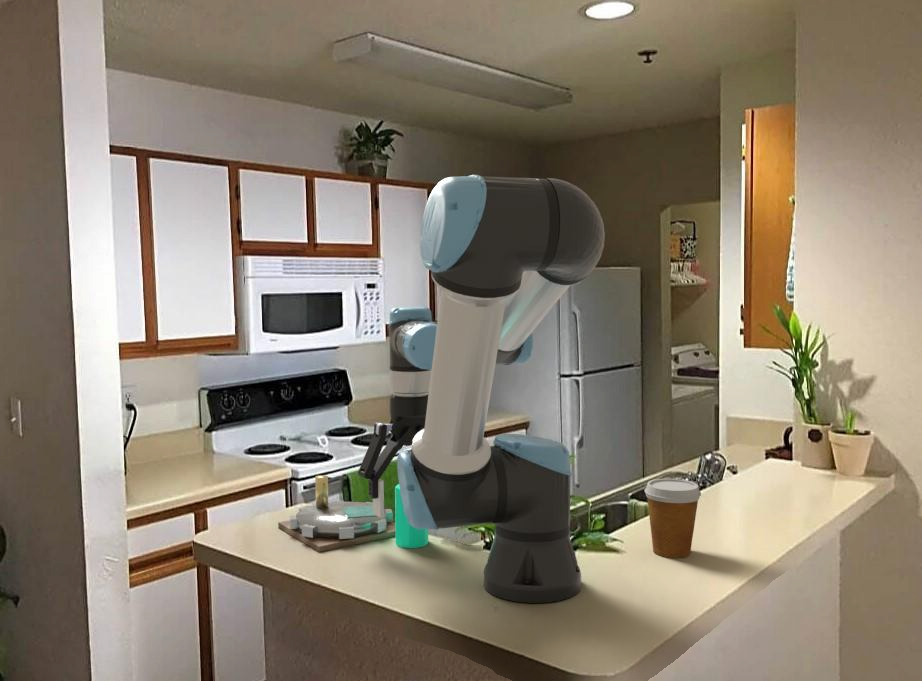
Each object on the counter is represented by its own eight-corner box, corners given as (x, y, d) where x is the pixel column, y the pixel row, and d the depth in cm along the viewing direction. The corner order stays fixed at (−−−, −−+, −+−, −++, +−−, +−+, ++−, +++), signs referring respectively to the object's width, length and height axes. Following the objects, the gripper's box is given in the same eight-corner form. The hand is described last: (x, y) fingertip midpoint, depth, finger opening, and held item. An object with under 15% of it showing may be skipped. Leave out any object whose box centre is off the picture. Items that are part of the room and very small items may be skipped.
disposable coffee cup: (702, 563, 140) (703, 492, 139) (644, 559, 141) (645, 490, 141) (697, 545, 149) (698, 479, 148) (643, 542, 151) (644, 476, 150)
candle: (430, 538, 154) (430, 474, 153) (425, 548, 148) (425, 481, 147) (398, 537, 154) (397, 473, 153) (392, 547, 148) (392, 481, 147)
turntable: (384, 507, 170) (384, 468, 169) (399, 535, 151) (399, 491, 151) (288, 513, 165) (287, 473, 165) (292, 543, 147) (291, 498, 146)
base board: (406, 533, 156) (406, 528, 156) (319, 552, 146) (319, 546, 146) (361, 512, 171) (361, 507, 171) (278, 527, 161) (278, 522, 160)
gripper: (455, 384, 159) (455, 493, 161) (338, 396, 145) (339, 515, 147) (479, 389, 153) (478, 502, 155) (358, 402, 139) (359, 526, 141)
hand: (411, 509), depth 151 cm, fingers open, 13 cm apart
